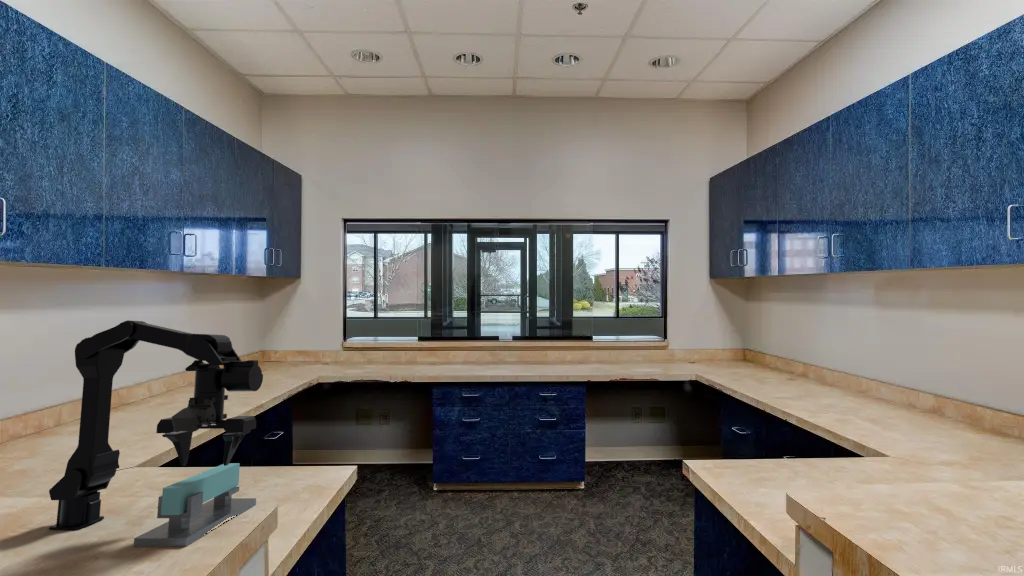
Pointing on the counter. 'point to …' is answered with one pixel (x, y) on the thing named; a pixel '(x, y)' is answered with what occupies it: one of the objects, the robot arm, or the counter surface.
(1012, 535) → the counter surface
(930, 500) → the counter surface
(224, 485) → the teal rail
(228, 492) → the bracket stand
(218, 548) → the counter surface
